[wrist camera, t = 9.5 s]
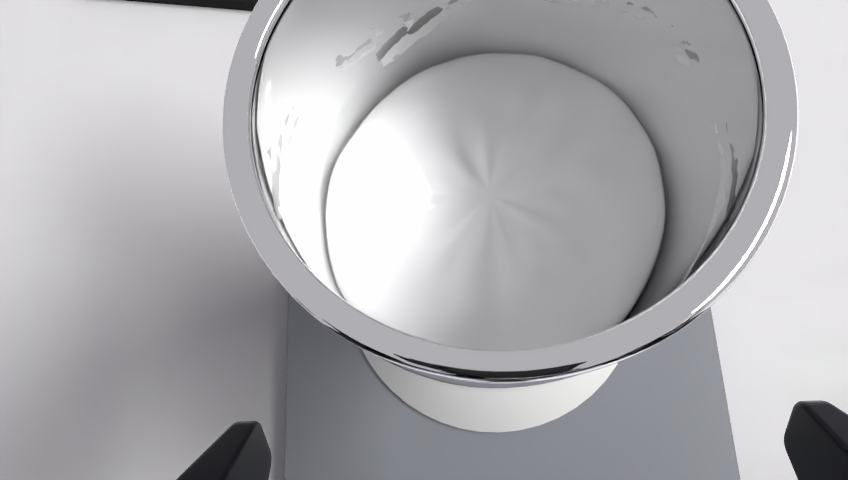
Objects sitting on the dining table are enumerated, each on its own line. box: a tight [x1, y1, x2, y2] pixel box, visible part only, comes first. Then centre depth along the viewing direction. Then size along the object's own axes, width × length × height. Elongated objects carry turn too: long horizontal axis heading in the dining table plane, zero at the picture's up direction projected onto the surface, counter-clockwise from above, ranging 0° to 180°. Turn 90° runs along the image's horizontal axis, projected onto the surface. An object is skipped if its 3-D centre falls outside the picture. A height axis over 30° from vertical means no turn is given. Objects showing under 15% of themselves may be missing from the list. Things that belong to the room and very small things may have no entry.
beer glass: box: [222, 0, 799, 392], centre depth 13 cm, size 7×7×15 cm
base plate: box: [285, 293, 740, 480], centre depth 20 cm, size 24×16×1 cm, turn 2°
